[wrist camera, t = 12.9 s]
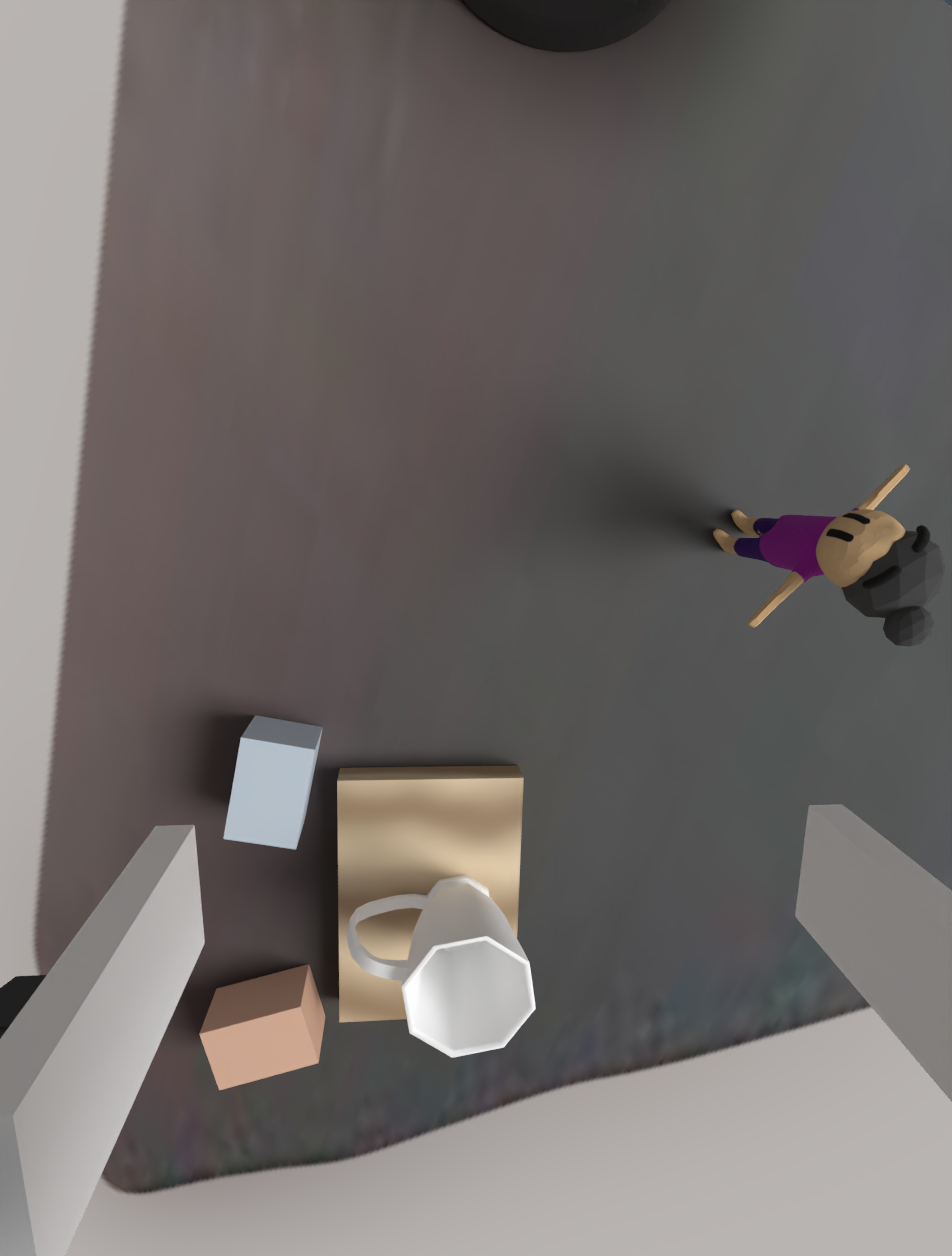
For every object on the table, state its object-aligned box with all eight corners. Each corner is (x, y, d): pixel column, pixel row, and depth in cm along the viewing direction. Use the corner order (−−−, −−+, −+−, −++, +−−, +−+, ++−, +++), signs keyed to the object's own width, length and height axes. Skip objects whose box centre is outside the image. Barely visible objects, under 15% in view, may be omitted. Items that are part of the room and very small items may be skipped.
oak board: (340, 767, 43) (337, 780, 41) (518, 765, 44) (523, 777, 42) (342, 999, 46) (339, 1022, 44) (509, 991, 47) (513, 1013, 45)
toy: (777, 449, 42) (979, 427, 27) (834, 514, 43) (1057, 525, 28) (655, 577, 43) (788, 621, 28) (713, 636, 44) (871, 709, 29)
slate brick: (255, 714, 42) (240, 737, 38) (322, 726, 42) (315, 749, 39) (239, 807, 43) (223, 838, 39) (305, 817, 43) (296, 849, 40)
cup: (497, 966, 44) (517, 1068, 36) (340, 939, 43) (326, 1040, 35) (526, 865, 43) (554, 948, 35) (366, 835, 42) (358, 914, 34)
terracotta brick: (235, 1039, 46) (219, 1090, 42) (217, 987, 45) (199, 1034, 41) (325, 1014, 46) (318, 1063, 42) (309, 962, 45) (300, 1006, 41)
